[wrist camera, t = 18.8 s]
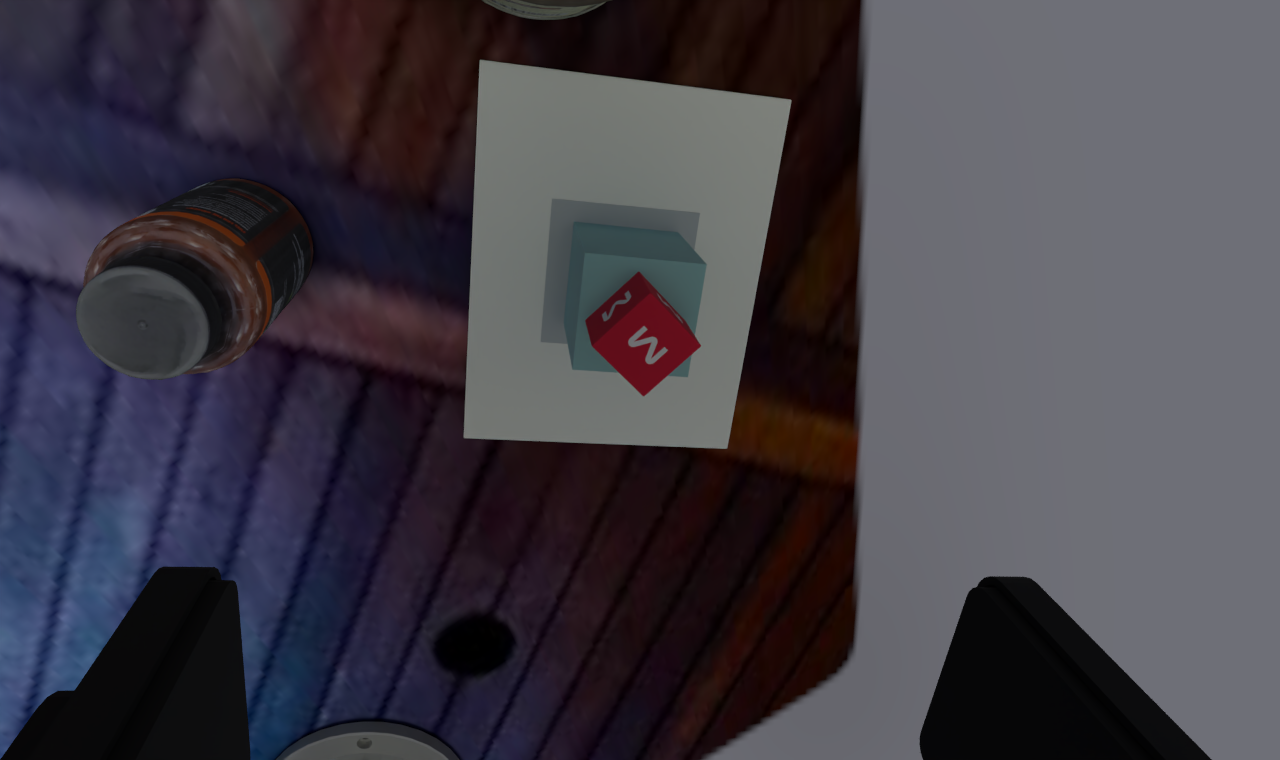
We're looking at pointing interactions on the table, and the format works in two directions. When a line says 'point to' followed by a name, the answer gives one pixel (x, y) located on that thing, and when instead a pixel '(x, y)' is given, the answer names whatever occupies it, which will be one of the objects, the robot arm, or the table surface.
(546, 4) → the coffee can
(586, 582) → the table surface
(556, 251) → the pad
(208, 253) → the supplement bottle
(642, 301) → the red letter cube
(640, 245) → the teal block
